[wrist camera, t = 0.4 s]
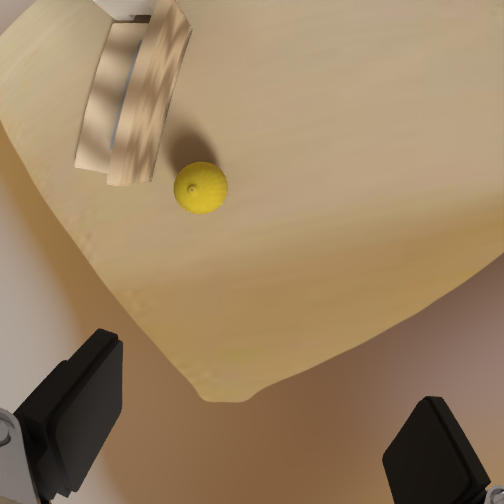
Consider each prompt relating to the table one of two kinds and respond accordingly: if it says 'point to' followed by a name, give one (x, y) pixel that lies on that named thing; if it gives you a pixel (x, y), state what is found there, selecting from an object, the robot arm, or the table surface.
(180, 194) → the lemon
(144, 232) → the table surface
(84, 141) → the cleat board
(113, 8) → the white stepped block
